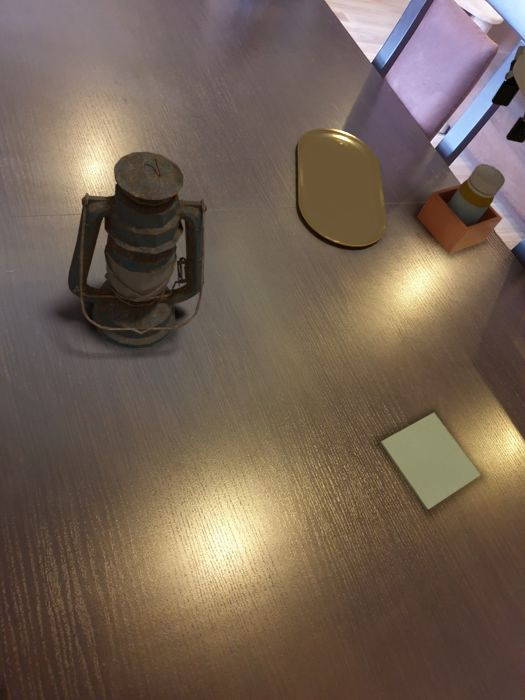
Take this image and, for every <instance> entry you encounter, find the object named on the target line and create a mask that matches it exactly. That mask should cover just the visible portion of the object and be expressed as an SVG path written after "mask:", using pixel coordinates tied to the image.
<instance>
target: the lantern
mask: <svg viewBox="0 0 525 700" xmlns="http://www.w3.org/2000/svg"><path fill="white" fill-rule="evenodd" d="M113 176H114V181H115V183H116V184H115V185H114V195H108V196H106V195H105V196H102V195H90V193H88V192H85V195H84V196H83V197H82V198H81V199H80V200H81V206H82V208H81V213H80V218H79V225H78V231H77V236H76V242H75V245H74V250H73V253H72V257H71V261H70V265H69V268H68V269H69V270H68V274H67V286H68V290H69V291H70V292H71V293H72V294H73V295H75V296H77V297H78V298H79V299H80V305H81V311H82V314H83V315H84V318H86V319H87V321H88V322H89V323H90V324H92V325H94V326H95V329H96V330H97V332H98V333H99V334H100V336H101V337H102V338H103V339H104V340H106V341H107V342H109V343H111V344H113V345H115V346H117V347H119V348H123V349H128V350H129V349H130V350H145V349H148V348H153V347H156V346H157V345H159V344H160V343H162V342H164V341H165V340H167V338H168V337H169V336H170V335H171V333H172V331H173V330H177V329H180V328H182V327H184V326H186V325H188V324H189V323H190V322H191V321H192V320H193V319H194V318H195V317H196V315H198V312H199V309H200V305H201V300H202V295H203V294H202V293H203V287H204V284H205V221H206V220H205V219H206V212H207V210H208V207H207V204H206V201H205V199H204V198H201V199H200V201H197V200H183V199H180V197H179V192H180V191H181V189H182V188H183V187H184V174H183V173H182V171H181V169H180V167H179V166H178V164H177V163H175V162H173V160H170V159H169V158H168V157H166V156H164V155H163V154H159V153H155V152H152V151H151V152H150V151H135V152H130V153H128V154H126V155H124V156H121V157H120V158H119V159H118V160H117V162H116V163H115V164H114V167H113ZM103 220H104V221H103ZM182 220H183V221H184V226H183V223H182ZM102 223H103V224H104V227H103V228H104V231H105V232H106V233H107V238H106V244H105V246H104V250H103V253H104V254H103V255H104V260H105V263H106V264H105V271H106V273H105V274H104V278H105V279H106V280H105V281H103V283H102V285H101V286H100V288H96V287H93V286H90V284H89V283H88V277H89V273H90V269H91V265H92V261H93V257H94V255H95V251H96V246H97V241H98V238H99V234H100V231H101V227H102ZM183 233H184V236H185V239H184V240H185V257H184V256H181V257H179V259H178V256H177V248H178V246H177V243H178V241H179V240H180V238H181V236H182V235H183ZM183 265H184V266H183ZM176 267H177V268H176ZM175 269H177V280H175V281H174V282H173V285H172V287H171V289H170V288H169V286H168V284H169V282H170V280H171V278H172V276H173V274H174V271H175ZM183 270H184V272H183ZM183 273H184V274H183ZM183 275H184V277H183ZM177 284H178V287H177V288H175V287H176V286H177ZM180 284H184V285H180ZM197 295H198V300H197V304H196V306H195V309H194V313H193V315H192V316H191V317H189V318H188V319H186V320H185V321H183V322H182V323H180V324H178V325H175V323H176V308H175V306H174V305H175V304H180V303H183V302H186V301H188V300H189V299H192V298H193V297H195V296H197ZM84 301H86V302H89V303H91V304H93V307H92V312H91V316H92V319H91V318H90V317H89V314H87V312H86V308H85V302H84Z"/></svg>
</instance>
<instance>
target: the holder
mask: <svg viewBox="0 0 525 700" xmlns="http://www.w3.org/2000/svg"><path fill="white" fill-rule="evenodd" d="M461 184H462V183H460V184H456V185H453V186H449V187H445V188H443V189H439V190H436V191H432V192H431V194H430V195H429V197H428V199H427V200H426V202H425V203H424V205H423V206H422V208H421V209H420V212H418V214H417V215H416V218H417V219H418V220H419V222H420V223H421V224H422V225H423V226H424V227H425V229H427V230H428V232H429V233H430V234H431V235H432V237H433V238H434V239H435V240H436V241H437V242H438V244H439V245H440V246H441V247H442V248H443V249H444V251H445V252H446V253H447V254H448V255H451V254H454V253H457V252H459V251H461V250H464V249H467V248H470V247H474V246H475V245H478V244H480V243H483V242H484V241H485V240H486V239H487V238H488V237H489V235H490V234H491V233H492V232H493V231H494V230H495V229H496V227H497V226H498V225H499V224H500V222H501V221H502V220H503V217H502V216H501V215H500V214H499V212H498V211H496V210H495V209H494V207H493V206H492V205H490V206H489V207H488V209H487V210H486V211H485V212H484V214H483V215H482V216H481V217H480V219H479V220H478V221H477V223H476V224H475V225H472V226H469V227H467V226H466V225H465V224H464V223H463V222H462V221H461V220H460V219H459V217H458V216H457V215H456V214H455V213H454V212H453V211H452V210H451V209H450V207H449V206H448V205H447V204H448V203H449V201H450V200H451V199H452V197H453V196H454V194H455V193H456V191H457V190H458V188H459V187H460V186H461Z"/></svg>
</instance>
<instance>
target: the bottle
mask: <svg viewBox="0 0 525 700" xmlns="http://www.w3.org/2000/svg"><path fill="white" fill-rule="evenodd" d="M505 182H506V178H505V176H504V174H503V173H502V172H501V171H500V170H499V169H498V168H497V167H495V166H494V165H491V164H488V163H480V164H478V165H476V167H475V168H474V169H473V170H472V172H471V174H470V175H469V176H468V178H467V179H466V180H464V181H463V182H462V183H460V184H461V186H460V187H459V188H458V190H457V191H456V193H455V194H454V196H453V197H452V199H451V200H450V201H449V203H448V204H447V205H448V206H449V207H450V209H451V210H452V211H453V212H454V213H455V214H456V215H457V216H458V217H459V219H460V220H461V221H462V222H463V223H464V224H465V225H466V226H467V227H469V226H472V225H475V224H476V223H477V221H478V220H479V219H480V217H481V216H482V215H483V214H484V212H485V211H486V210H487V209H488V207H489V206H492V203H493V202H494V199H495V197H496V195H497V194H498V192H499V191H500V190H501V189H502V187H503V186H504V184H505Z"/></svg>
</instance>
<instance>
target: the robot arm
mask: <svg viewBox="0 0 525 700" xmlns="http://www.w3.org/2000/svg"><path fill="white" fill-rule="evenodd" d="M519 91H520V93H521V95H522V97H523V99H524V100H525V45H518V46H517V48H516V52H515V55H514V57H513V59H512V60H511V62H510V66H509V69H508V72H506V74H504V80H503V82H502V83H501V85H500V86H499V87H498V89H497V90H496V93H495V94H494V96H492V98H491V103H492V104H493V105H497V106H502V107H509V106H510V104H511V103H512V101H513V99H514V98H515V97H516V95H517V94H518V92H519ZM518 117H519V118H518V119H517V120H516V122H515V123H514V124H513V126H511V128H510V130H509V131H508V132H507V134H506V137H505V138H506V140H507V141H511V142H515V143H519V144H522V143H525V111H524V113H523V116H518Z"/></svg>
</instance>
